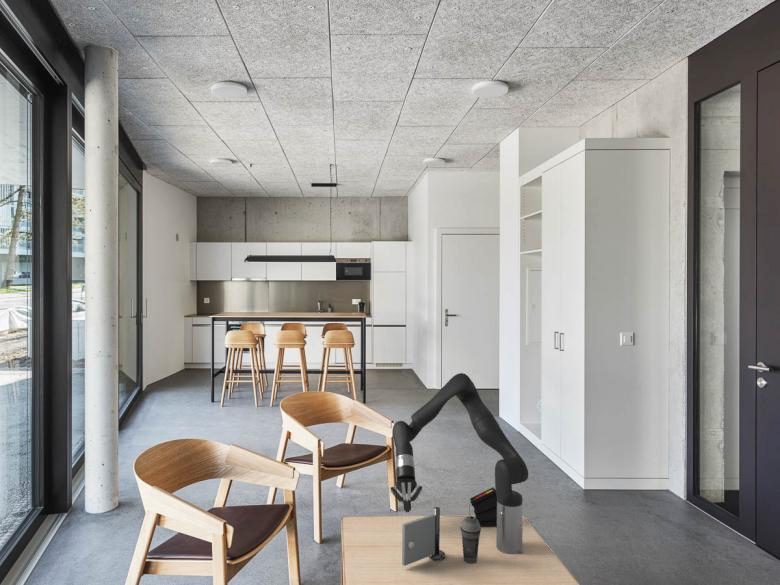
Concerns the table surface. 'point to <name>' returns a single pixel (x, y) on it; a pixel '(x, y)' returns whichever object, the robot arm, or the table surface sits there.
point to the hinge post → (437, 537)
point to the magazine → (486, 508)
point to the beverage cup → (470, 538)
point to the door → (418, 539)
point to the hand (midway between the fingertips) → (407, 511)
